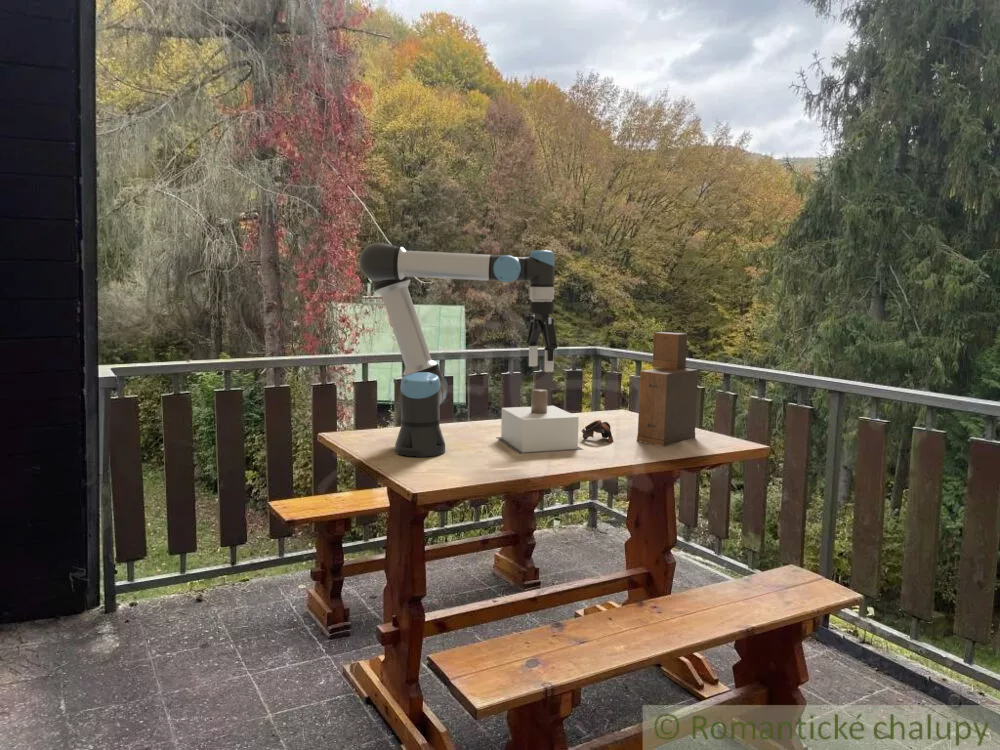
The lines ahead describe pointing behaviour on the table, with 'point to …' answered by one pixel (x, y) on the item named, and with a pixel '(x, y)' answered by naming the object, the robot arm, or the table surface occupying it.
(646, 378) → the wooden block stack
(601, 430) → the brown curved piece
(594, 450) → the table surface
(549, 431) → the cover
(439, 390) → the robot arm
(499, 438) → the mat
